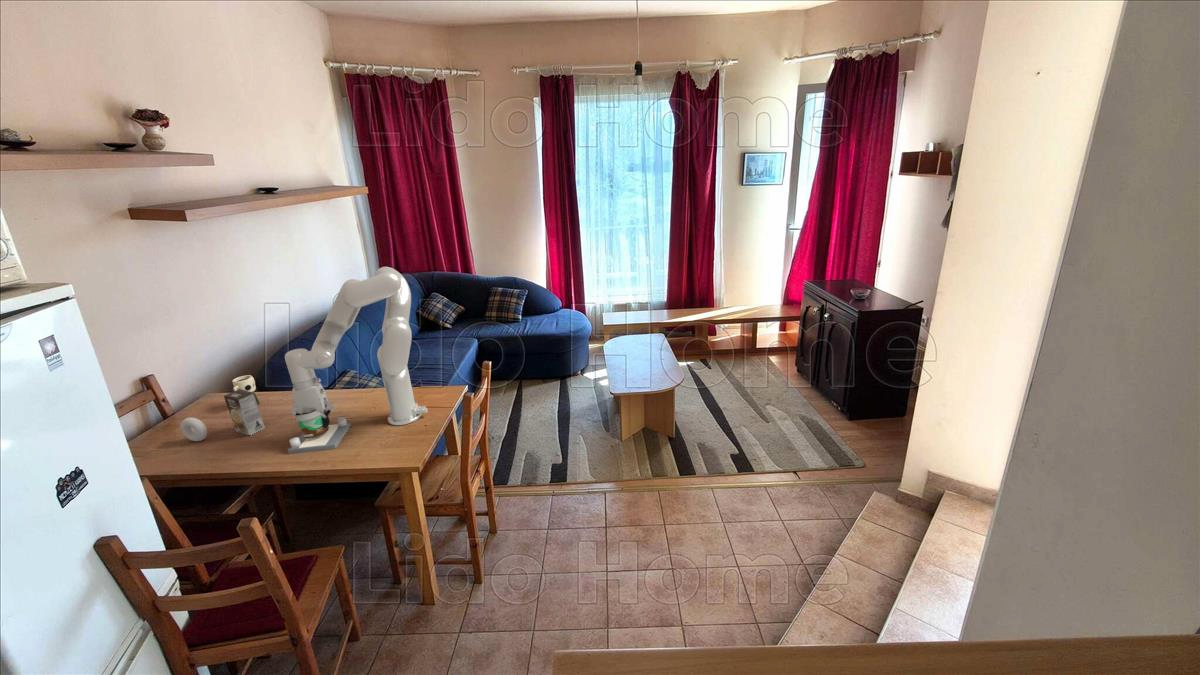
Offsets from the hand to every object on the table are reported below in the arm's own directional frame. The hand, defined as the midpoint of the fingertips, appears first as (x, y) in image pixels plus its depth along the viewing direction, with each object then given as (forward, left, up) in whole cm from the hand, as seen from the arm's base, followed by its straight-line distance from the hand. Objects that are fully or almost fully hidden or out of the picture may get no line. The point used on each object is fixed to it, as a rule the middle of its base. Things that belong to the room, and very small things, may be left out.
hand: (317, 426), depth 183 cm
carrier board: (0, 0, -5) cm, 5 cm away
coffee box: (+32, -14, -6) cm, 35 cm away
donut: (+49, -10, -6) cm, 50 cm away
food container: (-1, 0, -3) cm, 3 cm away
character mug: (+44, -38, -6) cm, 58 cm away
